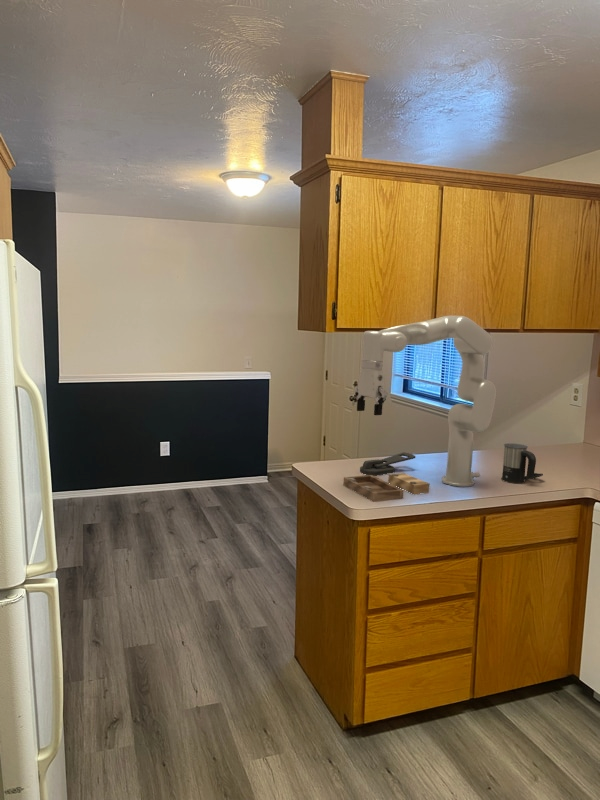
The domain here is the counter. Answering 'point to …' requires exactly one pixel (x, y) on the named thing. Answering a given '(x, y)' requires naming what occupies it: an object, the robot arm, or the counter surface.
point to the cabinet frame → (373, 488)
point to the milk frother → (518, 463)
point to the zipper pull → (383, 464)
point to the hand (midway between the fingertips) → (369, 412)
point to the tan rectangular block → (408, 483)
